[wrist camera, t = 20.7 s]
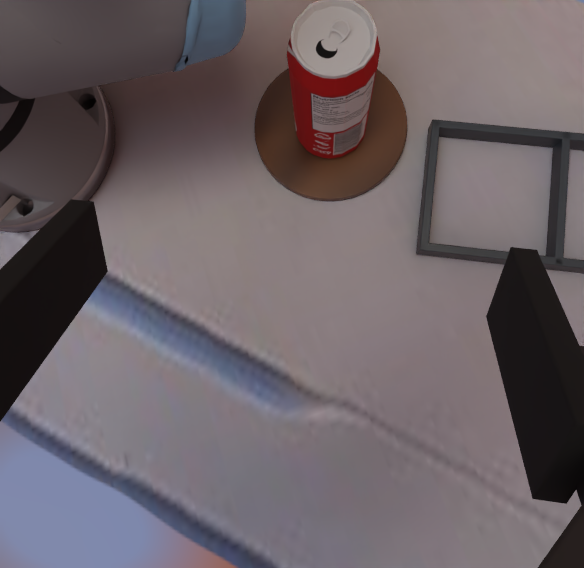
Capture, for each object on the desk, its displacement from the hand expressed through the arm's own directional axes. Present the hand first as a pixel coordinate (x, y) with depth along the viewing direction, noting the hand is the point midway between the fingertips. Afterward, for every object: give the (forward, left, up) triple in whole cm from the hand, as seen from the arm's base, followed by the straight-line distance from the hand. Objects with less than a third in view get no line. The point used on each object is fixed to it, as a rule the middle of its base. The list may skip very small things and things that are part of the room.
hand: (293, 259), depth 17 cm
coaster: (-5, +14, -23) cm, 28 cm away
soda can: (-5, +14, -23) cm, 27 cm away
